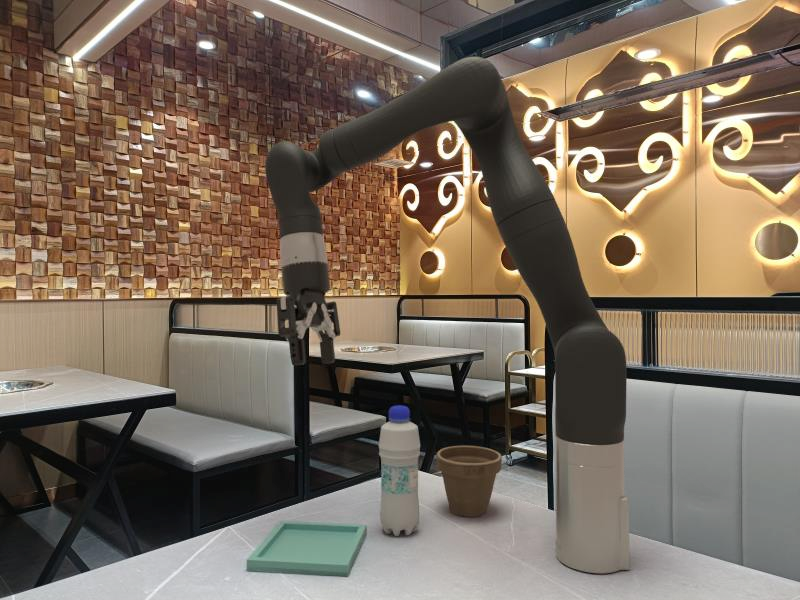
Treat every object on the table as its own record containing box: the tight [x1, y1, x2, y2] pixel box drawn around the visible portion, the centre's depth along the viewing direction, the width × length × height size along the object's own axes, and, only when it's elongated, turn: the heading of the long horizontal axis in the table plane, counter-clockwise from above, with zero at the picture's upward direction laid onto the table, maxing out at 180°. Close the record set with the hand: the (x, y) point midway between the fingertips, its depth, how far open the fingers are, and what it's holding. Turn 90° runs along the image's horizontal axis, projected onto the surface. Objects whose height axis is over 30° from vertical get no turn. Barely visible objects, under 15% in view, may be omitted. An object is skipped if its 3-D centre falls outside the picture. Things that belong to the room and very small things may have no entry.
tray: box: [246, 520, 368, 577], centre depth 83 cm, size 14×14×2 cm
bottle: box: [378, 404, 421, 537], centre depth 91 cm, size 7×7×20 cm
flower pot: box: [436, 445, 503, 518], centre depth 99 cm, size 12×11×10 cm
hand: (314, 363), depth 90 cm, fingers open, 8 cm apart
